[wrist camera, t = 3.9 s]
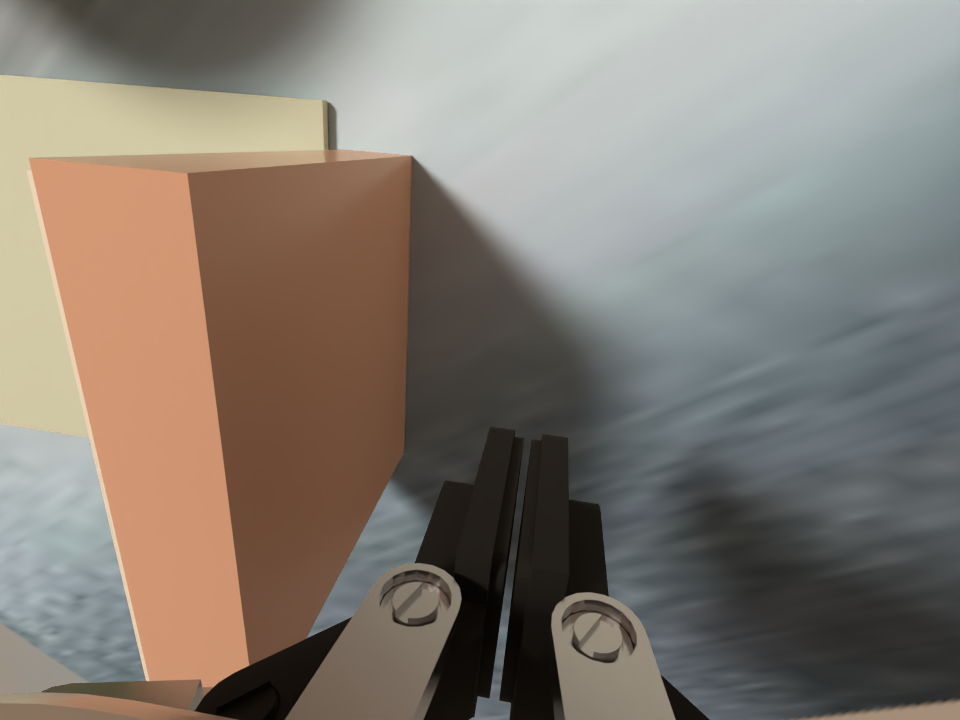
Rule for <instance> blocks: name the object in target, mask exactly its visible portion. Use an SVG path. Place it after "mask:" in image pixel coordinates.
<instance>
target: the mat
mask: <svg viewBox="0 0 960 720" xmlns="http://www.w3.org/2000/svg"><path fill="white" fill-rule="evenodd" d="M305 150H329V146H328V112H327V101H324V100H313V99H300V98H288V97H275V96H262V95H250V94H237V93H224V92H212V91H199V90H186V89H173V88H161V87H148V86H135V85H123V84H110V83H97V82H85V81H72V80H59V79H46V78H34V77H21V76H8V75H0V424H5V425H11V426H18V427H24V428H30V429H37V430H43V431H49V432H56V433H62V434H68V435H75V436H81V437H87V438H89V435H88V431H87V427H86V422H85V418H84V414H83V409H82V405H81V401H80V397H79V392H78V388H77V384H76V380H75V375H74V371H73V367H72V363H71V358H70V354H69V350H68V346H67V341H66V337H65V333H64V328H63V324H62V320H61V316H60V311H59V307H58V303H57V299H56V294H55V290H54V286H53V282H52V277H51V273H50V269H49V265H48V260H47V256H46V252H45V247H44V243H43V239H42V235H41V230H40V226H39V222H38V218H37V213H36V209H35V205H34V201H33V196H32V192H31V188H30V184H29V179H28V175H27V171H26V170H31V166H30V162H29V158H38V157H76V156H115V155H153V154H191V153H229V152H267V151H305Z"/></svg>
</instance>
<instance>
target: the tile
mask: <svg viewBox="0 0 960 720" xmlns="http://www.w3.org/2000/svg"><path fill="white" fill-rule="evenodd" d="M29 162H30V166H31V170H26V171H27V175H28V179H29V184H30V188H31V192H32V196H33V201H34V205H35V209H36V213H37V218H38V222H39V226H40V230H41V235H42V239H43V243H44V247H45V252H46V256H47V260H48V265H49V269H50V273H51V277H52V282H53V286H54V290H55V294H56V299H57V303H58V307H59V311H60V316H61V320H62V324H63V328H64V333H65V337H66V341H67V346H68V350H69V354H70V358H71V363H72V367H73V371H74V375H75V380H76V384H77V388H78V392H79V397H80V401H81V405H82V409H83V414H84V418H85V422H86V427H87V431H88V435H89V439H90V444H91V448H92V452H93V456H94V461H95V465H96V469H97V473H98V478H99V482H100V486H101V490H102V495H103V499H104V503H105V508H106V512H107V516H108V520H109V525H110V529H111V533H112V537H113V542H114V546H115V550H116V554H117V559H118V563H119V567H120V571H121V576H122V580H123V584H124V589H125V593H126V597H127V601H128V606H129V610H130V614H131V618H132V623H133V627H134V631H135V635H136V640H137V644H138V648H139V652H140V657H141V661H142V665H143V670H144V674H145V678H146V681H164V680H195V679H201V683H202V687H214V686H215V685H216V684H217V683H218V682H220V681H222V680H223V679H225V678H227V677H228V676H230V675H231V674H233V673H235V672H237V671H239V670H241V669H243V668H245V667H247V666H250V665H252V664H254V663H256V662H258V661H260V660H262V659H264V658H266V657H269V656H271V655H273V654H275V653H277V652H279V651H281V650H283V649H286V648H288V647H290V646H292V645H294V644H296V643H298V642H300V641H303V640H305V639H306V637H307V635H308V633H309V632H310V630H311V628H312V626H313V624H314V622H315V620H316V618H317V616H318V615H319V613H320V611H321V609H322V607H323V605H324V603H325V601H326V599H327V597H328V596H329V594H330V592H331V590H332V588H333V586H334V584H335V582H336V580H337V578H338V577H339V575H340V573H341V571H342V569H343V567H344V565H345V563H346V561H347V559H348V558H349V556H350V554H351V552H352V550H353V548H354V546H355V544H356V542H357V541H358V539H359V537H360V535H361V533H362V531H363V529H364V527H365V525H366V523H367V522H368V520H369V518H370V516H371V514H372V512H373V510H374V508H375V506H376V504H377V503H378V501H379V499H380V497H381V495H382V493H383V491H384V489H385V487H386V486H387V484H388V482H389V480H390V478H391V476H392V474H393V472H394V470H395V468H396V467H397V465H398V463H399V461H400V459H401V457H402V455H403V453H404V438H405V401H406V363H407V325H408V288H409V250H410V212H411V174H412V156H410V155H399V154H388V153H376V152H365V151H354V150H305V151H267V152H229V153H191V154H153V155H115V156H76V157H38V158H29Z"/></svg>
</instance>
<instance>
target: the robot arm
mask: <svg viewBox="0 0 960 720" xmlns="http://www.w3.org/2000/svg"><path fill="white" fill-rule="evenodd" d="M514 436H515V430H509V429H501V428H494V427H490V429H489V433H488V437H487V441H486V444H485V448H484V452H483V455H482V459H481V463H480V466H479V470H478V474H477V478H476V481H475V485H471V484H464V483H458V482H451V481H445V482H444V484H443V487H442V490H441V492H440V495H439V498H438V501H437V503H436V506H435V509H434V512H433V514H432V517H431V520H430V523H429V525H428V528H427V531H426V534H425V536H424V539H423V542H422V545H421V547H420V550H419V553H418V556H417V558H416V561H415V563H414V564H405V565H401V566H398V567H395V568H393V569H391V570H389V571H388V572H386V573H384V574H383V575H382V576H381V577H380V578H379V579H378V580H377V581H376V582H375V583H374V585H373V586H372V588H371V589H370V591H369V592H368V594H367V595H366V597H365V598H364V600H363V601H362V603H361V604H360V606H359V608H358V609H357V611H356V612H355V614H354V615H353V617H351V618H349V619H347V620H345V621H343V622H341V623H339V624H336V625H334V626H332V627H330V628H328V629H326V630H324V631H322V632H319V633H317V634H315V635H313V636H311V637H309V638H307V639H305V640H303V641H300V642H298V643H296V644H294V645H292V646H290V647H288V648H286V649H283V650H281V651H279V652H277V653H275V654H273V655H271V656H269V657H266V658H264V659H262V660H260V661H258V662H256V663H254V664H252V665H250V666H247V667H245V668H243V669H241V670H239V671H237V672H235V673H233V674H231V675H230V676H228V677H227V678H225V679H223V680H222V681H220V682H218V683H217V684H216V685H215V686H214V687H202V683H201V679H195V680H164V681H134V682H103V683H73V684H66V685H61V686H55V687H51V688H49V689H47V690H44V691H42V692H33V693H14V694H0V720H469V719H470V718H472V717H474V715H475V709H476V703H477V697H478V696H480V697H485V698H489V697H490V690H491V683H492V676H493V669H494V662H495V654H496V647H497V640H498V633H499V625H500V618H501V611H502V604H503V596H504V589H505V582H506V575H507V567H508V560H509V553H510V545H511V538H512V530H513V522H514V514H515V506H516V498H517V490H518V482H519V474H520V466H521V458H522V450H523V442H524V438H518V437H514ZM500 701H505V702H510V703H511V711H510V720H709V719H708V718H707V717H706V716H705V715H704V714H703V713H702V712H701V711H700V710H698V709H697V708H696V707H695V706H694V705H693V704H692V703H691V702H690V701H689V700H688V699H687V698H685V697H684V696H683V695H682V694H681V693H680V692H679V691H678V690H677V689H676V688H675V687H673V686H672V685H671V684H670V683H669V682H668V681H667V680H666V679H665V678H664V677H663V676H662V675H660V672H659V669H658V666H657V664H656V661H655V658H654V655H653V652H652V649H651V646H650V643H649V640H648V637H647V634H646V631H645V630H644V628H643V626H642V624H641V622H640V620H639V619H638V618H637V617H636V615H635V614H634V613H633V612H632V611H631V610H630V609H629V608H627V607H626V606H625V605H623V604H622V603H620V602H619V601H617V600H615V599H613V598H610V597H609V595H608V585H607V574H606V564H605V554H604V543H603V533H602V523H601V512H600V506H599V505H598V504H594V503H587V502H581V501H574V500H569V494H568V438H565V437H558V436H551V435H544V434H543V435H542V441H539V440H532V443H531V450H530V458H529V465H528V473H527V481H526V488H525V496H524V503H523V511H522V518H521V526H520V534H519V541H518V549H517V557H516V565H515V574H514V582H513V591H512V599H511V607H510V616H509V624H508V632H507V641H506V649H505V657H504V666H503V674H502V683H501V691H500Z"/></svg>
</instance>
